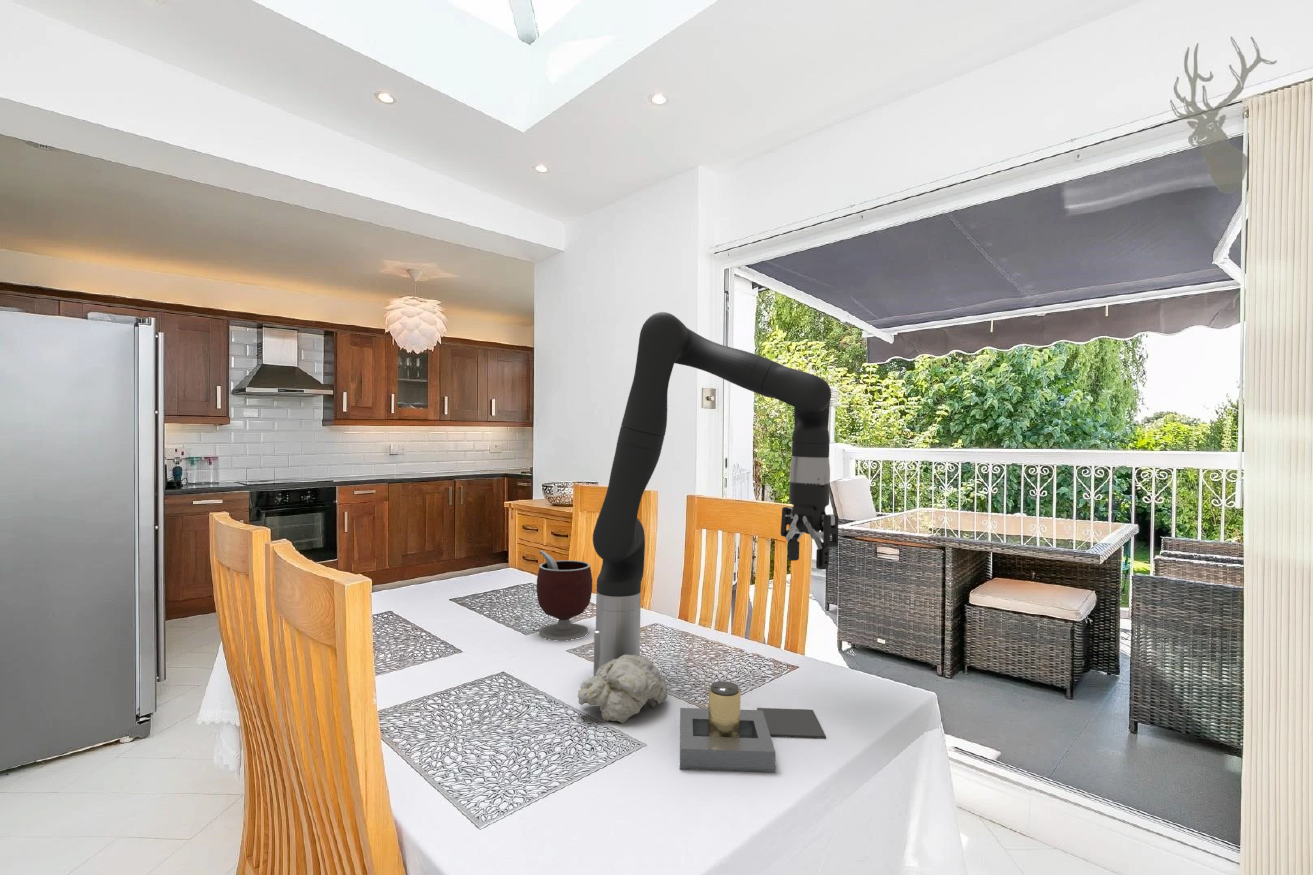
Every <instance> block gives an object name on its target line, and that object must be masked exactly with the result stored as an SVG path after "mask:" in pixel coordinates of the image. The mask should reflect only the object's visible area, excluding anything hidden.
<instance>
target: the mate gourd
mask: <svg viewBox="0 0 1313 875" xmlns="http://www.w3.org/2000/svg"><path fill="white" fill-rule="evenodd" d="M539 554H541V556H543V558H544V560H545V562H543V563H540V564H539V569H538V571H537V572H538V573H537V578H536V595H537V602H538V605H539V607H540V609H541V610H542V611H543V613H544V614H545V615H548V616H550V617H553V618H555V619H558V621H557V623H554V624H549V625H546V626H544V627H541V628H540V629H539V632H538V634H540V635H539V637H540V638H542V639H544V638H546V639H545V640H548V639H550V640H549V641H554V640H558V641H557V642H566V640H568V641H572V640H571V639H576V638H580V639H582V638H581V637H583V636H585V635H586V634H587V633H588V634H589V628H588V627H587V626H585V625H583V624H579V623H578V624H577V623H572V622H571V620H570V619H572V618H575V617H576V616H579V615H581V614H583V613H584V612H585V610H586V609H587V608H588V606H589V605H590V603H591V599H592V594H593V575H592V574H593V573H592V569H591V564H590V563H589V562H586V561H582V560H571V559H570V560H568V559H566V560H563V559H561V560H555V559H554V558H553V557H552V556H551V555H550V554H548V553H546V552H545V551H543V550H539ZM588 634H587V635H588ZM587 635H586V636H587ZM586 636H585V637H586ZM583 638H584V637H583ZM576 640H577V639H576Z"/></svg>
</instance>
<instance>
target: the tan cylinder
mask: <svg viewBox="0 0 1313 875" xmlns="http://www.w3.org/2000/svg"><path fill="white" fill-rule="evenodd" d="M708 709H709V725H708V737H735V738H740V710H741V690H740V688H739V685H738V684H736V683H734V682H731V681H727V680H726V681H723V680H722V681H720V680H719V681H714V682H713V683H711V685H710V687H709V688H708Z"/></svg>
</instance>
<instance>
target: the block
mask: <svg viewBox="0 0 1313 875" xmlns="http://www.w3.org/2000/svg"><path fill="white" fill-rule="evenodd" d="M708 725H709V708H705V707H704V708H701V707H699V708H697V707H696V708H695V707H680V708H679V769H680V770H696V771H722V772H723V771H725V772H727V771H729V772H751V773H752V772H753V773H755V772H756V773H757V772H758V773H776V749H775V746H774V744H773V740H772V737H771V736H770V733H769V730H768V726H767V723H766V720H765V717H764V713H763V710H757V709H740V738H735V737H708Z"/></svg>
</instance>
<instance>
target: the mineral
mask: <svg viewBox="0 0 1313 875" xmlns="http://www.w3.org/2000/svg"><path fill="white" fill-rule="evenodd" d="M668 690H669V689H668V688H667V683H666V680H665V679H664V677H663V675H662V674H660V672H659V670H658V668H657V667H656V666H655V665H654V664H653V662H652V661H651V660H650V659H648V658H647V657H646V656H643V655H639V656H636V655H626V654H625V655H623V656H621V657H619V658H618V659H613V660H611V661H610V662H608V663H606V664H605V665H603V666H601V667H600V668H599V669H598V670H597V673H596V675H595V676H594V675H593V676H590V677H588V678H587V679H585V680H583V681H582V682H581V683H580V689H579V690H577V698H578V704H579V705H580V706H583V705H585V704H588V705H589V706H597V707H599V710H600V712H601V714H600V715H601V719H603V721H607V722H610V721H612V722H620V723H621V724H624V723H626V722H627V721H628V720H629V718H630V717H632V716H634V715H636V714H637V715H638V714H639V713H640V710H641V709H642V707H643V706H645V705H646V702H647V703H648V704H650V705H651V707H652V708H653V707H655V706H657V704H662V703H664V702H665V701H667V698H668Z"/></svg>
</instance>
